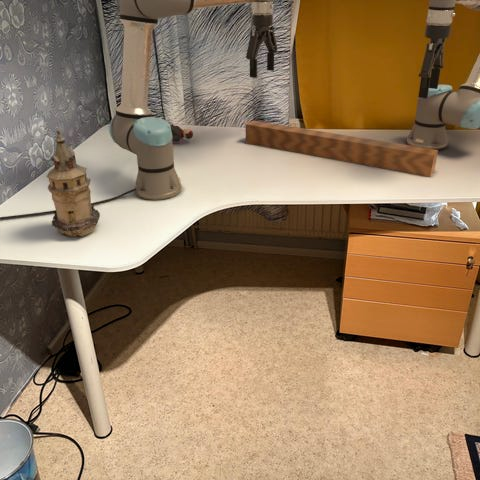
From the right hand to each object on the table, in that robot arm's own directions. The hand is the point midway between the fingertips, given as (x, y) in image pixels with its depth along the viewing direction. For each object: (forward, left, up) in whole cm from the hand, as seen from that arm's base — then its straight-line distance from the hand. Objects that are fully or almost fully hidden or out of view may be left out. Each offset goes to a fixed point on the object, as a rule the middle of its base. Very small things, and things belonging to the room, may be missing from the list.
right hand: (428, 93), depth 177 cm
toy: (+29, -99, -28) cm, 107 cm away
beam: (+3, -31, -28) cm, 42 cm away
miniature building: (+98, -63, -28) cm, 120 cm away
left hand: (+6, -62, 0) cm, 62 cm away
